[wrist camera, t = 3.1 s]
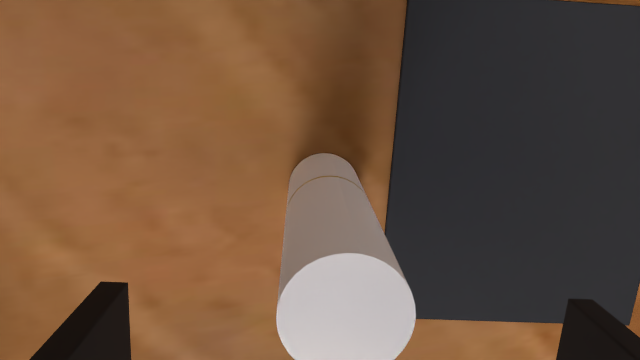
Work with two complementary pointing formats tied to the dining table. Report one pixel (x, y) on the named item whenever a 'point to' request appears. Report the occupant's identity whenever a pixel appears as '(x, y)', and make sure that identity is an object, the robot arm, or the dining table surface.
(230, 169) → the dining table surface
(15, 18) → the dining table surface
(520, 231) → the charcoal mat
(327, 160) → the tube
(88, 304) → the robot arm
